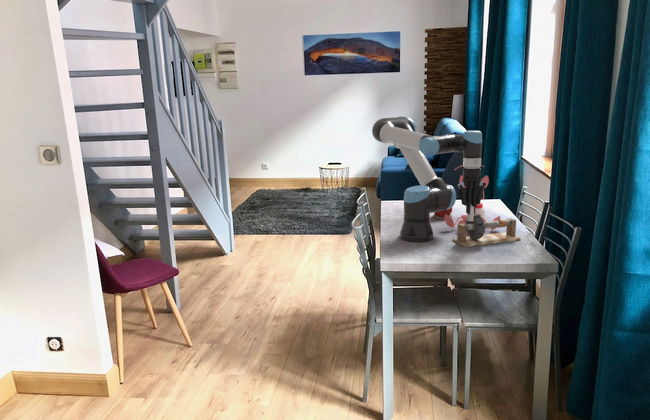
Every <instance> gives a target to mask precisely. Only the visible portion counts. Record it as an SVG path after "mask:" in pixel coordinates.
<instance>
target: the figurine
mask: <svg viewBox="0 0 650 420" xmlns="http://www.w3.org/2000/svg"><path fill="white" fill-rule="evenodd" d="M459 167H460V168H461V167H463V165H460V166H459ZM459 167H456V168H455V170H457V169H458V168H459ZM483 167H486V166H483ZM462 180H463V174H462V175H460V177H459V180H458V181H459V183H458V184H460V183H461V182H462ZM481 181H482V182H485V183H486V185H485V187H484V189H486V188H487V187H488V185H489V183H490V182H489V181H490V180H489V176H488V175H484V177H483V178H481ZM463 188H464V189H465V188H466V187H465V186H464V187H463ZM484 189H483V193H482V197H481V200H484V199H485V191H484ZM477 214H479V213H477ZM467 215H468V214H467V213H466V214H462V215H461V216H460V217H459V216H458V218H457V219H456V221H454V219H453V218H452V217H450V216H448V215H446V214H445V215H444V222H445V225H447V226H448V227H449V228H452V229H454V227H455V226H456V225H458V224H461V223H462V224H466V220H467ZM459 219H460V220H459ZM482 219H483V221H484V222H487V221H486V219H484V218H482ZM497 220H501V216H500V215H497V216H496V217H494V219H493V220H492V221H497ZM496 229H497V228H490V230H491V231H493V230H496ZM466 235H468V233H467V231H466Z"/></svg>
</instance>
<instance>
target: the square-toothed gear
mask: <svg viewBox="0 0 650 420" xmlns="http://www.w3.org/2000/svg"><path fill="white" fill-rule="evenodd" d="M480 217H481V215H479V214H477V213H475V214H474V221H471V222H470V221H468V220H466V224H472V223H474V224H475V230H471V231H467V233H468V234H467V235H468V236H467V237H470V238H471V239H473V240H477V239H480V238H482V236H483V235H485V234H486V229H485V226H484V225H483V224H484V221H483V219H482V217H481V218H480Z"/></svg>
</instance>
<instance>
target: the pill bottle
mask: <svg viewBox="0 0 650 420" xmlns="http://www.w3.org/2000/svg"><path fill="white" fill-rule="evenodd" d="M475 213H479V215H481V217H482V218H484V219H485V217H486V209H485V207H484V204H483V203H481V202H480V204H479V205H477V206H476V209H475ZM475 213H474V214H475ZM481 217H480V218H481ZM485 220H486V219H485Z"/></svg>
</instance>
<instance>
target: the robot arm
mask: <svg viewBox="0 0 650 420" xmlns="http://www.w3.org/2000/svg"><path fill="white" fill-rule="evenodd" d="M416 128H417V126H416V123H415V121H414V120H413V119H412V118H411V117H409V116H397V117H384V118H383V117H382V118H379V119H378V120H376V121H375V122H374V123H373V125H372V129H371V132H372V136H373V138H374V140H376V141H377V142H380V143H383V144H390V143H391V144H393V145H394V147H395V148H396V149H399V150H400V151H401V153H402V155H403V157H404V158H405V160H406V162H407V164H408V166H409V168H410V169H411V170H412V172H413V174H414V176H415V178H416V179H417V181H418V183H419V184H420V185H413V186H410V187H407V188H406V189H405V190H404V194H403V223H402V226H401V229H400V232H399V238H400V239H401V240H402V241H405V242H412V243H413V242H414V243H424V242H428V241H432V240H433V239H434V232H433V228H432V224H431V221H430V218H431V217H430V215H431V214H432V213H433V214H434V212H438V211H445V210H447V209H450V208H452V209H453V207H454V206H455V204H456V201H457V200H456V199H457V191H456V190H455V187H454V186H453V185H451V184H448V183H447V184H446V183H445V181H444V180H443V178H441V177H438V176H437V174H436V172H435V171H434V169H433V167H432V165H431V164H430V162H429V160H428V159H427V157H426V156H434V155H439V154H448V153H462V154H463V155H462V157H463V159H462V161H463V162H462V167H463V168H462V176H463V180H462V182H461V183H457V184H456V187H457V189H458V192H459V196H460V201H461V204H462V206H465V213H466V215H467V214H468V215H467V220H468V221H470V222H471V221H474V213H475V209H476V206H477V205H479V204H480V203H481V202H482V201H481V200H482V198H483V189H485V188H484V187H485V185H486V183H485V182H482V181H481V180H482V178H481V175H482V168H481V167H482V150H483V133H482V131H480V130H466V131H464V132H463V134H455V133H447V134H444V135H437V136H436V135H435V136H433V135H430V134H426V133H422V132H417V129H416ZM464 186H465V188H463V187H464Z"/></svg>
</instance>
